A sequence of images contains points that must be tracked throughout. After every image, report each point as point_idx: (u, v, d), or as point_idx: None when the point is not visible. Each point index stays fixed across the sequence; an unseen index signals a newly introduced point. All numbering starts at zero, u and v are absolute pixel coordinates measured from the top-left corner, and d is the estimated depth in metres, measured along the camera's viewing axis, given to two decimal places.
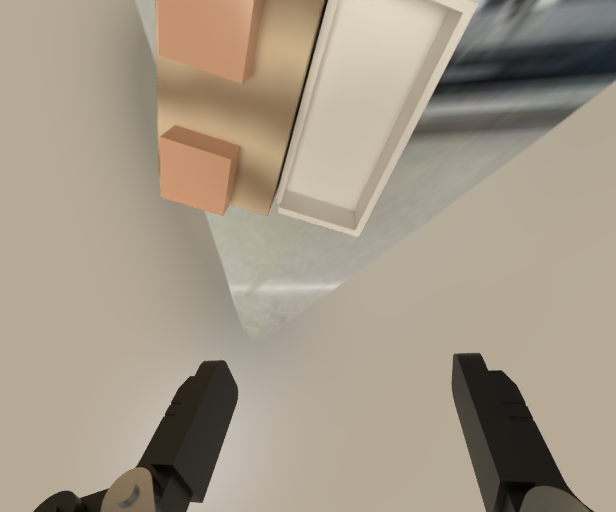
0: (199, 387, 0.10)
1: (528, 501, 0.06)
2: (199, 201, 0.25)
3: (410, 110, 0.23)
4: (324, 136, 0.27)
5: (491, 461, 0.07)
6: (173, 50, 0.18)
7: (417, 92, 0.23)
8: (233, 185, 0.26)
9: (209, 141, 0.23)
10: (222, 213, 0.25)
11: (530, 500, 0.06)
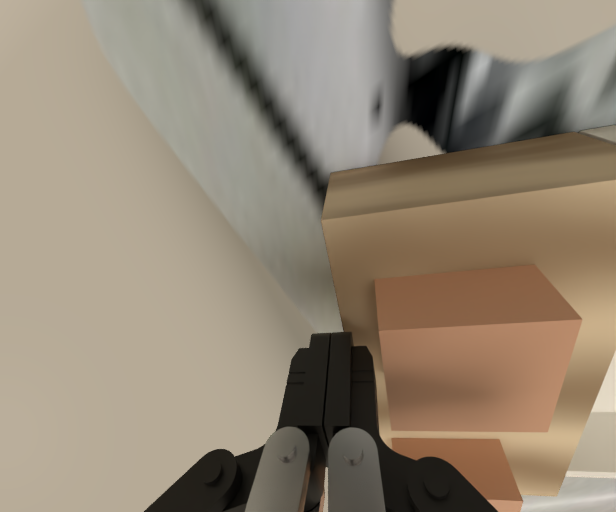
0: (319, 356, 0.10)
1: (335, 438, 0.08)
2: None
3: None
4: None
5: None
6: (415, 422, 0.11)
7: None
8: None
9: (455, 456, 0.15)
10: None
11: (332, 451, 0.08)
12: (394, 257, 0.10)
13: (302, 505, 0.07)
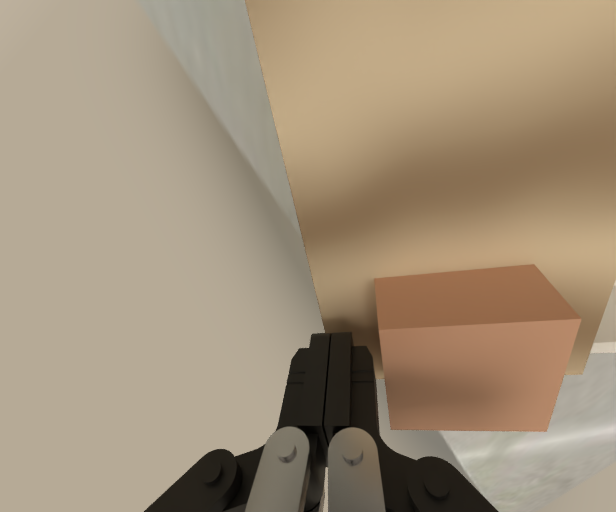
0: (319, 356, 0.10)
1: (335, 438, 0.08)
2: (482, 418, 0.10)
3: None
4: None
5: None
6: None
7: None
8: None
9: (468, 285, 0.10)
10: (544, 427, 0.10)
11: (332, 451, 0.08)
12: None
13: (302, 505, 0.07)
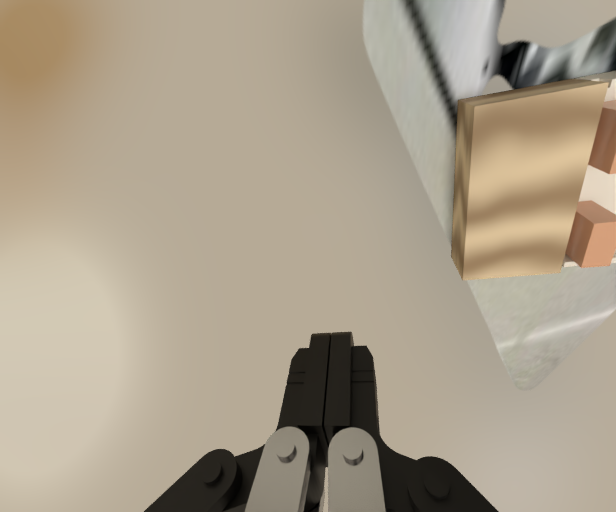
0: (319, 356, 0.10)
1: (335, 438, 0.08)
2: None
3: None
4: (581, 194, 0.33)
5: None
6: None
7: None
8: None
9: (585, 210, 0.32)
10: None
11: (332, 451, 0.08)
12: (500, 122, 0.27)
13: (302, 505, 0.07)
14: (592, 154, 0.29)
